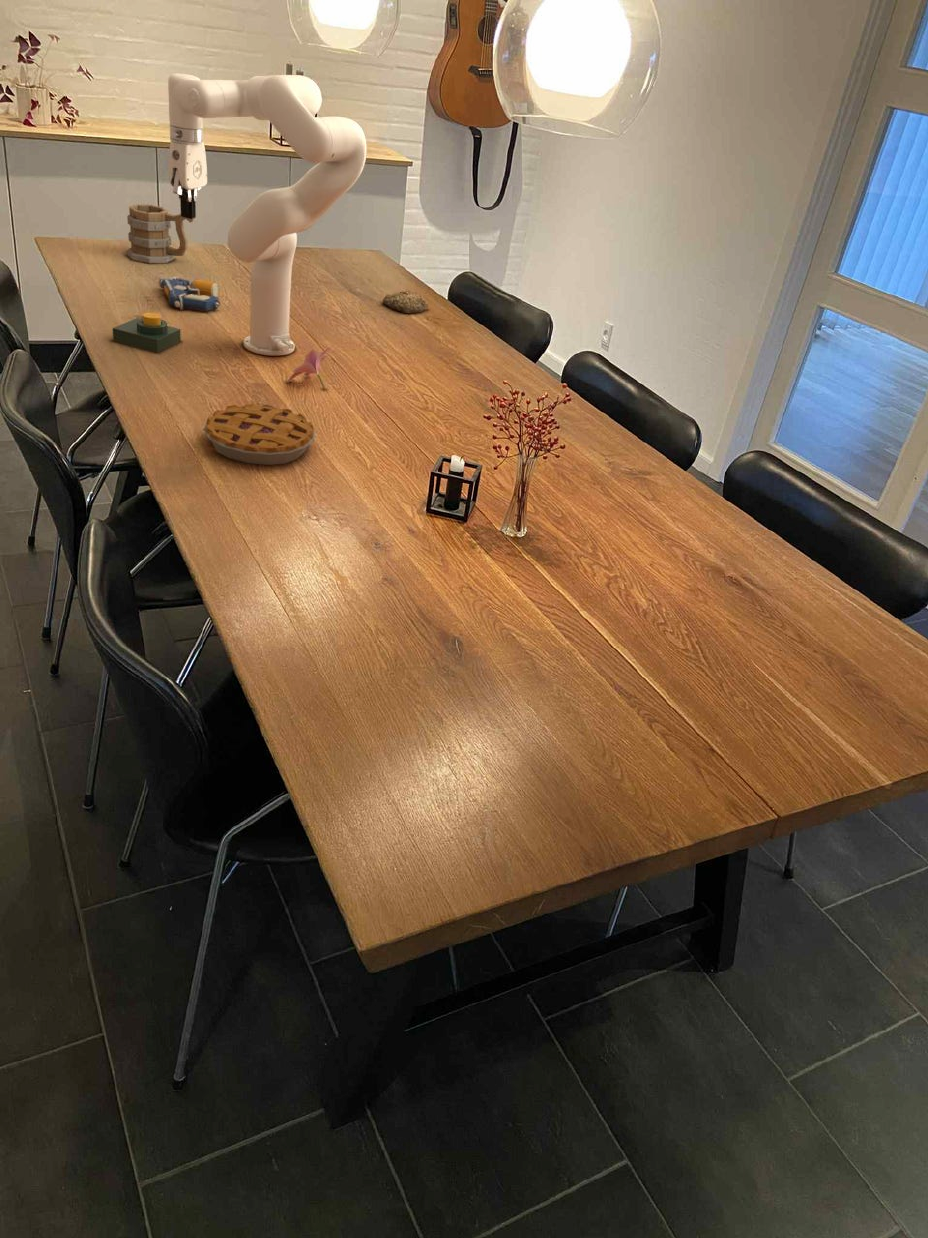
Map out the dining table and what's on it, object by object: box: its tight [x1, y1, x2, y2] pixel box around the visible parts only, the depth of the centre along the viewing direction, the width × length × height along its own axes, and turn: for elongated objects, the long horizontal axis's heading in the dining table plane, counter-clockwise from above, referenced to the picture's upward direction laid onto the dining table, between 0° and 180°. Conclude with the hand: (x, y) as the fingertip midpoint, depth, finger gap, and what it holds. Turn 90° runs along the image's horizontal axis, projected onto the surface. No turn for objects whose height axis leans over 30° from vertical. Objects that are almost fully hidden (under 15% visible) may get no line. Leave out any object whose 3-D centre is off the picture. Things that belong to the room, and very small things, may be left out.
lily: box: [286, 346, 332, 390], centre depth 215 cm, size 12×12×10 cm
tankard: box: [126, 204, 195, 264], centre depth 276 cm, size 20×13×15 cm, turn 81°
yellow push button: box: [142, 312, 162, 326], centre depth 221 cm, size 4×4×2 cm
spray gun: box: [158, 275, 221, 312], centre depth 253 cm, size 21×4×15 cm
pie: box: [203, 403, 316, 466], centre depth 186 cm, size 22×22×5 cm
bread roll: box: [382, 290, 429, 314], centre depth 276 cm, size 13×12×5 cm
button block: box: [112, 317, 182, 354], centre depth 223 cm, size 12×10×5 cm
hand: (188, 217), depth 228 cm, fingers closed
